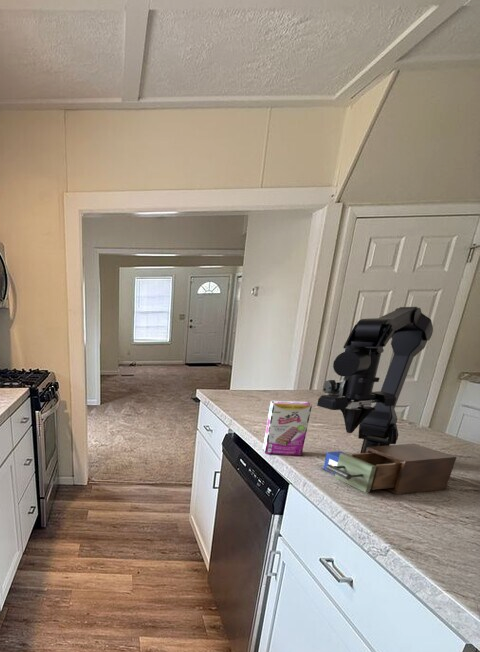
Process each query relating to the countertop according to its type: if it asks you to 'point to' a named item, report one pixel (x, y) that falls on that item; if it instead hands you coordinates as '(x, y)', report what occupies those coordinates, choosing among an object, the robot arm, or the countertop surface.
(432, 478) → the cabinet
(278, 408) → the candy bar box
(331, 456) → the block
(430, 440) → the countertop surface
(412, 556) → the countertop surface
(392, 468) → the drawer
